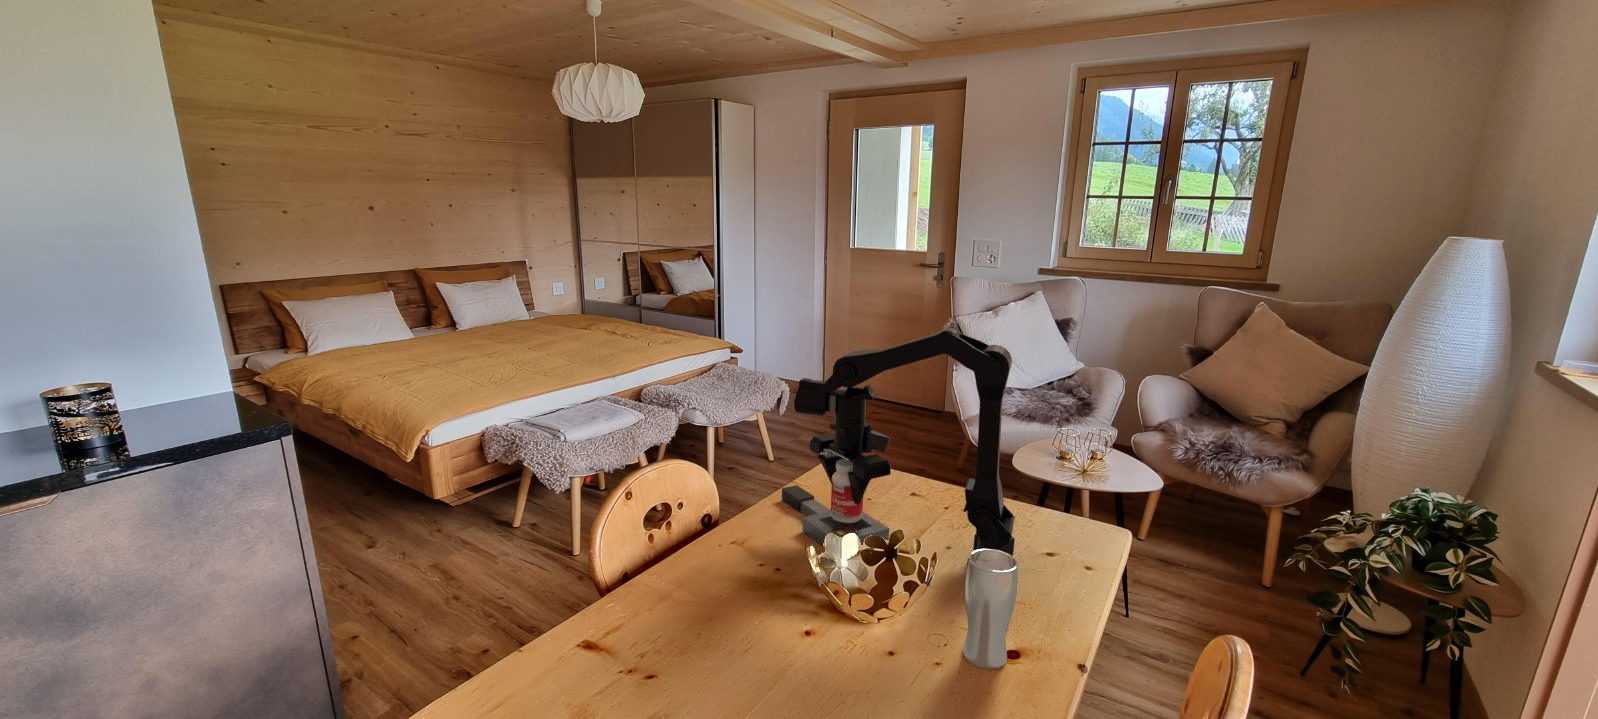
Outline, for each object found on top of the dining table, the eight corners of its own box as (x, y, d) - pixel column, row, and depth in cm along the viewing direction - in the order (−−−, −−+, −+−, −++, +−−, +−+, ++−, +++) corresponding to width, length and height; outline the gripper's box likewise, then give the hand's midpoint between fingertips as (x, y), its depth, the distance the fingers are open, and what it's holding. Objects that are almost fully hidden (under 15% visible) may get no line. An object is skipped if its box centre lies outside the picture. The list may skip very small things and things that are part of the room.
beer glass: (972, 635, 103) (980, 543, 100) (1017, 654, 99) (1027, 558, 96) (951, 657, 98) (958, 560, 95) (997, 678, 94) (1007, 578, 91)
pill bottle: (826, 520, 131) (827, 465, 129) (835, 508, 137) (837, 455, 135) (857, 526, 129) (860, 470, 127) (866, 513, 135) (868, 459, 132)
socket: (888, 542, 132) (889, 528, 131) (837, 557, 126) (837, 542, 125) (812, 493, 154) (812, 480, 154) (765, 503, 148) (765, 490, 148)
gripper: (916, 426, 125) (911, 506, 129) (855, 402, 141) (852, 474, 144) (867, 435, 120) (863, 519, 123) (809, 409, 135) (807, 484, 138)
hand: (847, 497), depth 132 cm, fingers closed on pill bottle, 6 cm apart
